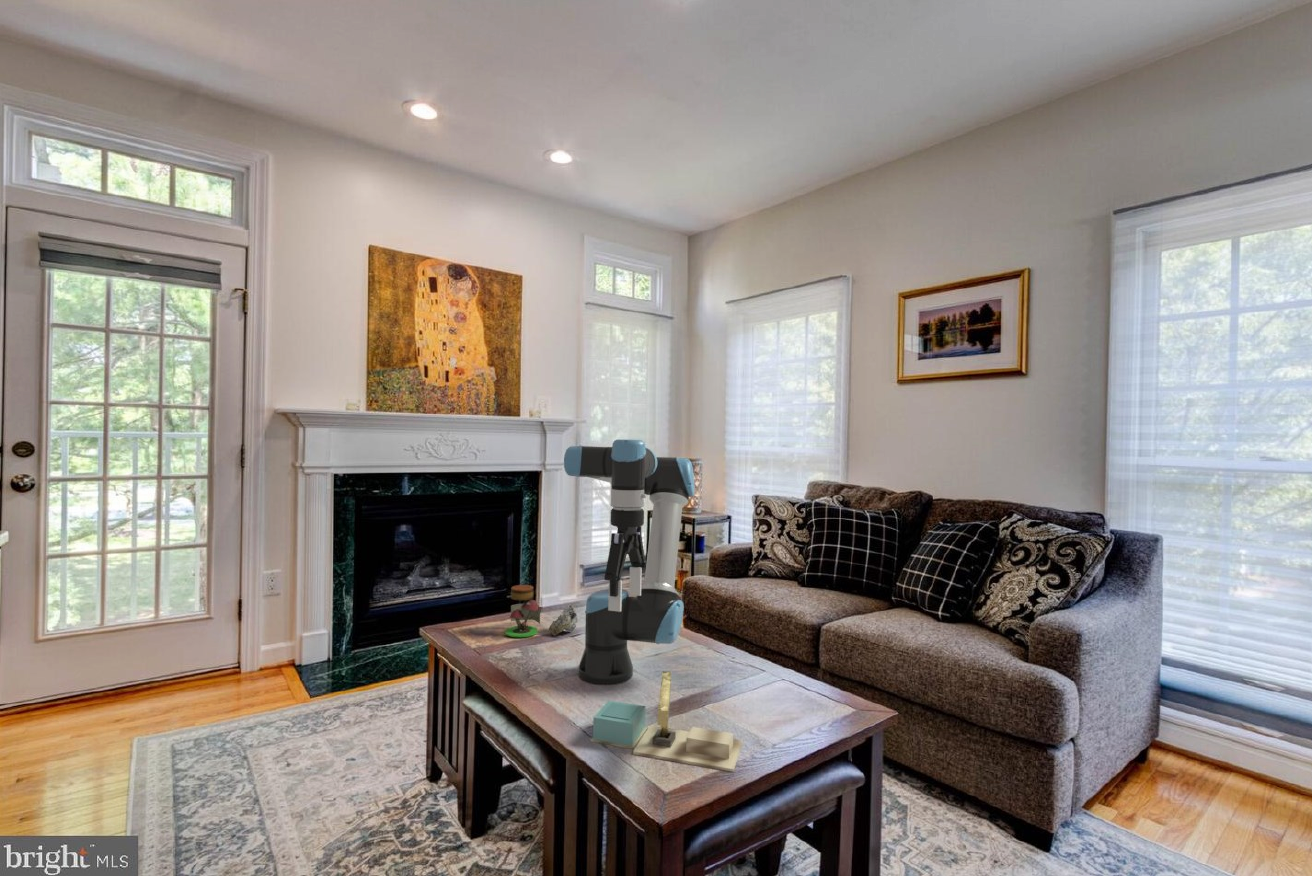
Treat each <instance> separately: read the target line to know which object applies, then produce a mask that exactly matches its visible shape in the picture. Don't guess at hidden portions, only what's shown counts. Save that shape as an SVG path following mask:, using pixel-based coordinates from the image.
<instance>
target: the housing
mask: <svg viewBox="0 0 1312 876" xmlns="http://www.w3.org/2000/svg"><path fill="white" fill-rule="evenodd" d="M660 736H661V726H659V725H652V724H651V725H649V726H648V728H647V730H646V731H645V733H644V734H643V736H642V737H641V739H640V740H639V742H638V744H637V745H636V747H635V748H634V749H633V751H632V754H633V755H637V756H641V757H647V758H653V759H659V760H664V761H671V762H675V763H681V764H686V765H693V766H698V767H699V766H700V767H702V768H703V767H704V768H710V769H714V770H715V769H716V770H720V771H721V770H722V771H726V772H734V770H735V769H736V768H735V767H736V764H737V761H738V759H739V756H740V753H741V749H742V746H743V740H742V739H736V738H734V733H732V732H727V731H721V730H716V729H715V730H713V729H708V728H703V727H697V726H696V727H695V726H691V728H690V730H687V731H686V730H681V729H674V728H669V727H668V738H662V737H660Z"/></svg>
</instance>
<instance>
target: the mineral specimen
mask: <svg viewBox="0 0 1312 876" xmlns="http://www.w3.org/2000/svg"><path fill="white" fill-rule="evenodd" d="M578 621H579V619H578V615H577V613H576V609H575V607H574V606H573V604H569V605H568V606H567V607H566V608H564V609H563V611H562V613H560V614H559V616H558V617H557V619H556V620H553V621H552V623H551V624H550V626H549V627H548V631H549V632H550V633H551V634H552V636H558V634H560V633H562V632H563V630H566V631H567V632H573V631H575V628H577V625H576V623H578Z"/></svg>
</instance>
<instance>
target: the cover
mask: <svg viewBox="0 0 1312 876" xmlns="http://www.w3.org/2000/svg"><path fill="white" fill-rule="evenodd" d="M646 708H647V707H646V705H640V704H633V703H630V702H629V703H628V702H623V701H622V702H621V701H615V700H607V702H606V703H604V705H603V706H602V707H601V708H600V710H599V711H598V712H597V713H596V714H595V715H594V716H593V722H592V723H593V725H592V726H593V728H592V730H593V731H592V737H593V740H598V741H604V742H610V743H615V744H621V745H627V746H633V745H634V743H635V742H636V740H637V739H638V737H639V736H640V734H641V733H642V731H643V730H644V728H645V726H646Z"/></svg>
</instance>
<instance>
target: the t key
mask: <svg viewBox="0 0 1312 876" xmlns="http://www.w3.org/2000/svg"><path fill="white" fill-rule="evenodd" d="M661 675H662V676H661V684H660V689H659V691H660V692H659V698H658V699H659V700H658V706H657V726H660V727H661V736H660V737H662V738H668V728H669V714H670V704H671V692H672V671H664V670H663V671H662V674H661Z"/></svg>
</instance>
